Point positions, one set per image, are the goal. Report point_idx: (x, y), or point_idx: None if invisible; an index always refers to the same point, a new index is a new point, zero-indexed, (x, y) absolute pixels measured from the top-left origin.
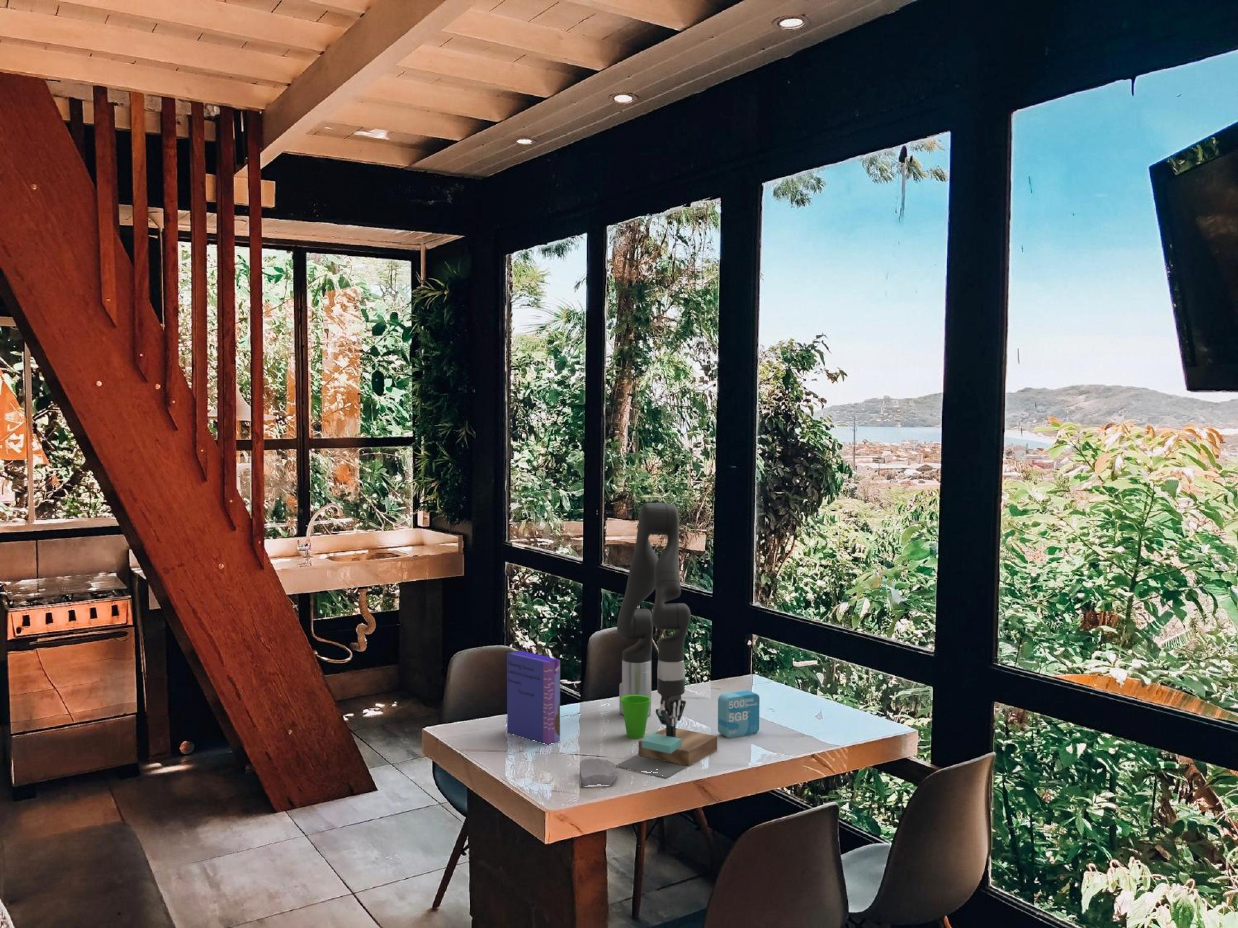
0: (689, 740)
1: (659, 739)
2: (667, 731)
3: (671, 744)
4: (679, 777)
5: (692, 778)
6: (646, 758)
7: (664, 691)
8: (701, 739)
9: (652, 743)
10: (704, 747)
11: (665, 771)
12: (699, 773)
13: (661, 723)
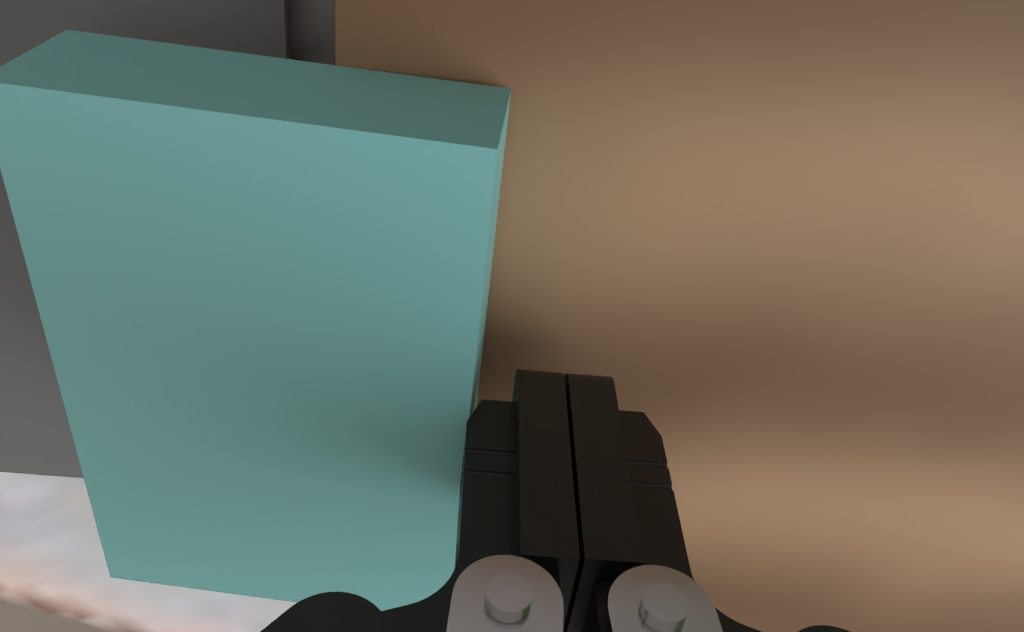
0: (758, 515)
1: (249, 375)
2: (461, 502)
3: (179, 571)
4: (35, 523)
5: (103, 598)
6: (263, 2)
7: None
8: (847, 597)
9: (48, 313)
10: None
11: (33, 395)
12: (251, 601)
13: (273, 625)
